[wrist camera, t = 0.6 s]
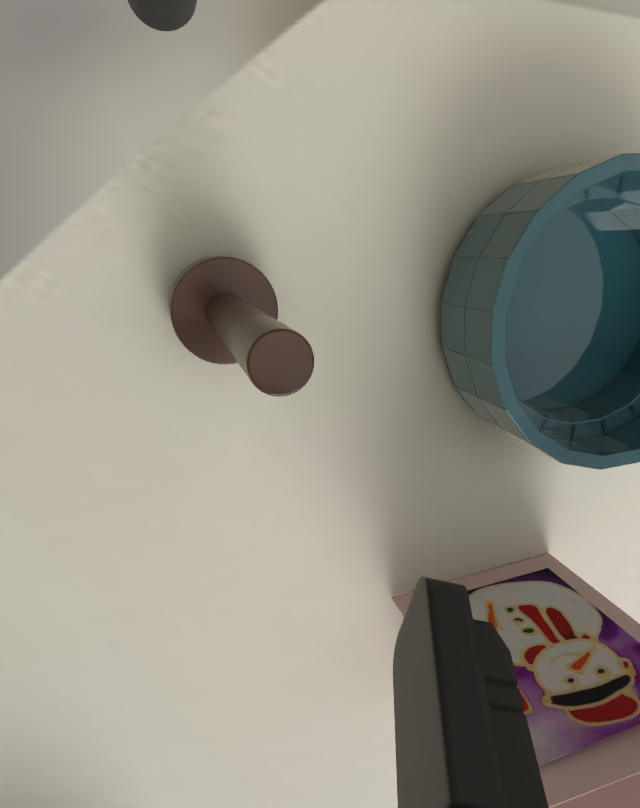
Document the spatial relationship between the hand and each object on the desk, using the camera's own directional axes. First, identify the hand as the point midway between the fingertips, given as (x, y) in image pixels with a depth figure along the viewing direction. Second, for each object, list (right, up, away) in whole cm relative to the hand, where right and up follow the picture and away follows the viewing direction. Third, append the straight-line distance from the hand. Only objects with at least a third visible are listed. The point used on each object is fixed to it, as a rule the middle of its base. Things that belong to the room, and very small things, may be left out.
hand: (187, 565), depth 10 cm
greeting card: (+13, -11, +29) cm, 33 cm away
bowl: (+16, +8, +24) cm, 31 cm away
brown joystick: (-3, +8, +19) cm, 21 cm away
